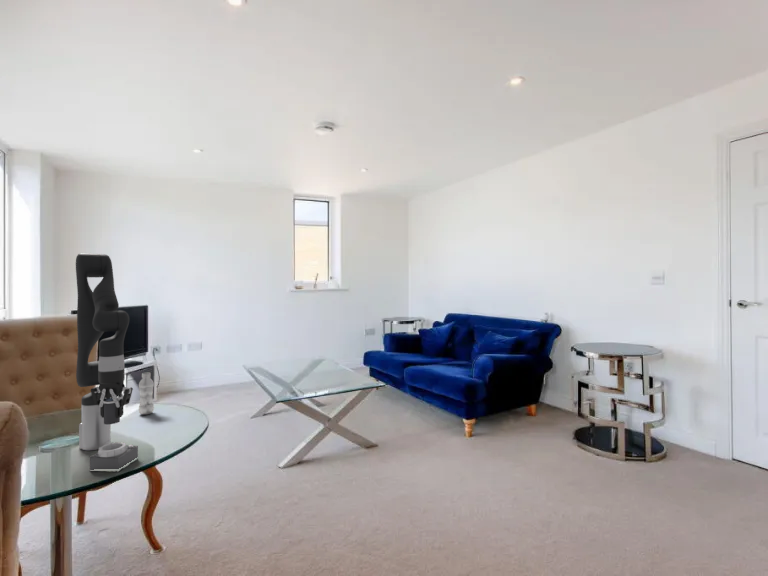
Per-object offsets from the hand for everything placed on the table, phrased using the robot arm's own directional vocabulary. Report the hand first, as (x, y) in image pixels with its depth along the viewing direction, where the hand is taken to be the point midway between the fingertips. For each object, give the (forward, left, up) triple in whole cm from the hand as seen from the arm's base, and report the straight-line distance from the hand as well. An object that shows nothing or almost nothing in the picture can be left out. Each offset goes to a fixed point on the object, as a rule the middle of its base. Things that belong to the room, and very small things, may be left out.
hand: (112, 416), depth 140 cm
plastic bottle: (-24, +55, -18) cm, 62 cm away
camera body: (0, +1, -17) cm, 17 cm away
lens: (0, 0, -2) cm, 2 cm away
